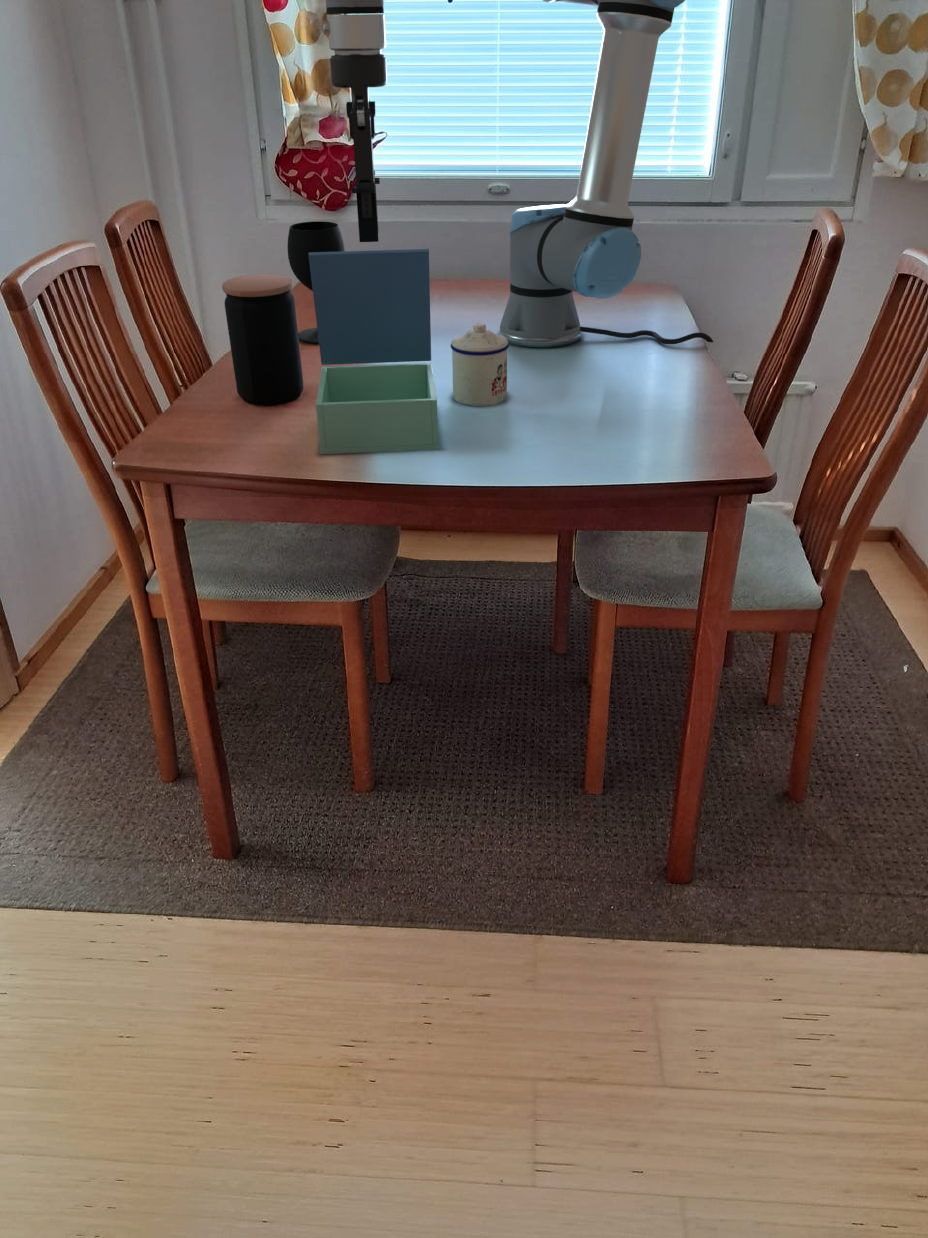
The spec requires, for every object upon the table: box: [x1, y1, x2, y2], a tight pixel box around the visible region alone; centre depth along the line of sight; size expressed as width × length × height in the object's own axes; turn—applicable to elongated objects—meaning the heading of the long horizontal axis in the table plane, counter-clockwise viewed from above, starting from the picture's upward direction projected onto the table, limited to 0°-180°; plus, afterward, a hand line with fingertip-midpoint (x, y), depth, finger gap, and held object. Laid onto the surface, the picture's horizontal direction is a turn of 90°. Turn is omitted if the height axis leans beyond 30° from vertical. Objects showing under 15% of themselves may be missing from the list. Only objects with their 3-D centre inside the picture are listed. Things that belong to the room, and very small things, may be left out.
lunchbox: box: [315, 362, 439, 455], centre depth 141 cm, size 17×17×7 cm
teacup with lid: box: [450, 322, 510, 407], centre depth 152 cm, size 12×9×12 cm
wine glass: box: [287, 220, 346, 345], centre depth 178 cm, size 10×10×20 cm
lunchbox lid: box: [309, 248, 432, 366], centre depth 139 cm, size 17×17×1 cm
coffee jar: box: [221, 273, 305, 407], centre depth 151 cm, size 11×11×18 cm
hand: (369, 236), depth 140 cm, fingers open, 5 cm apart
